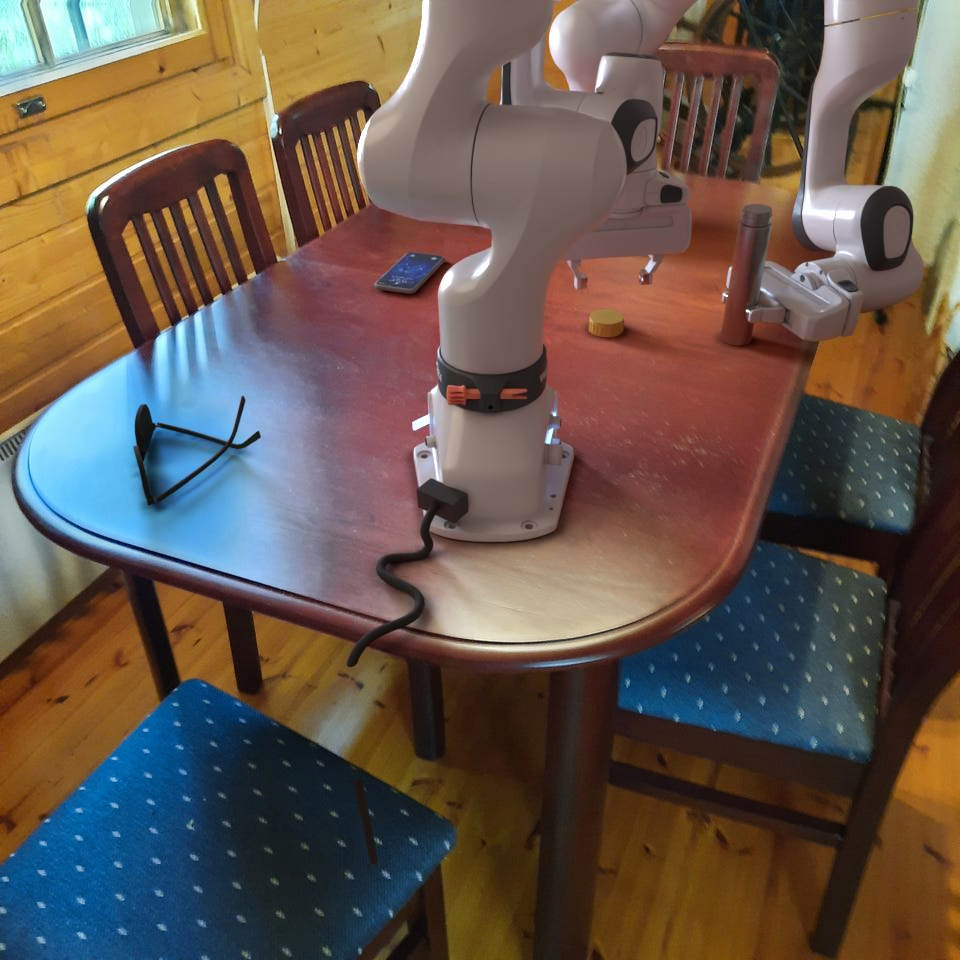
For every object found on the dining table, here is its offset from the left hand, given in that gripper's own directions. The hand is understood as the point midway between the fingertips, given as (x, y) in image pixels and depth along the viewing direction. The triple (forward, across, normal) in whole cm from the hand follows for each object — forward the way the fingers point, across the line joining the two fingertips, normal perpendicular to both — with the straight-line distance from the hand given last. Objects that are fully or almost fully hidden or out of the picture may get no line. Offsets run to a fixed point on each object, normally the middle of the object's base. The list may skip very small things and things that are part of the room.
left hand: (612, 285), depth 121 cm
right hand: (+2, +16, -6) cm, 17 cm away
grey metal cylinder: (+7, +17, -5) cm, 19 cm away
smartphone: (+7, -27, +27) cm, 38 cm away
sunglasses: (+9, -56, -22) cm, 61 cm away
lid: (+6, 0, +1) cm, 6 cm away
